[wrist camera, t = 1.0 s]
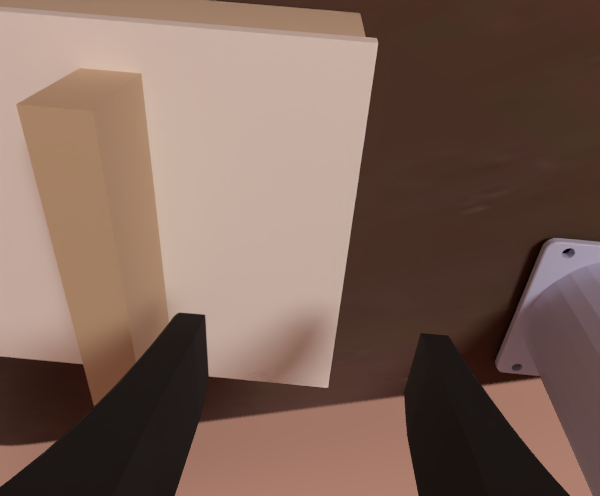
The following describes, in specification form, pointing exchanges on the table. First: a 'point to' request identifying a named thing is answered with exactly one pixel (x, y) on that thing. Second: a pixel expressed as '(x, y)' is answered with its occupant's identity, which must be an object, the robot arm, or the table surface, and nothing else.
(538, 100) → the table surface
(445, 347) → the robot arm
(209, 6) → the box
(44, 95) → the lid
